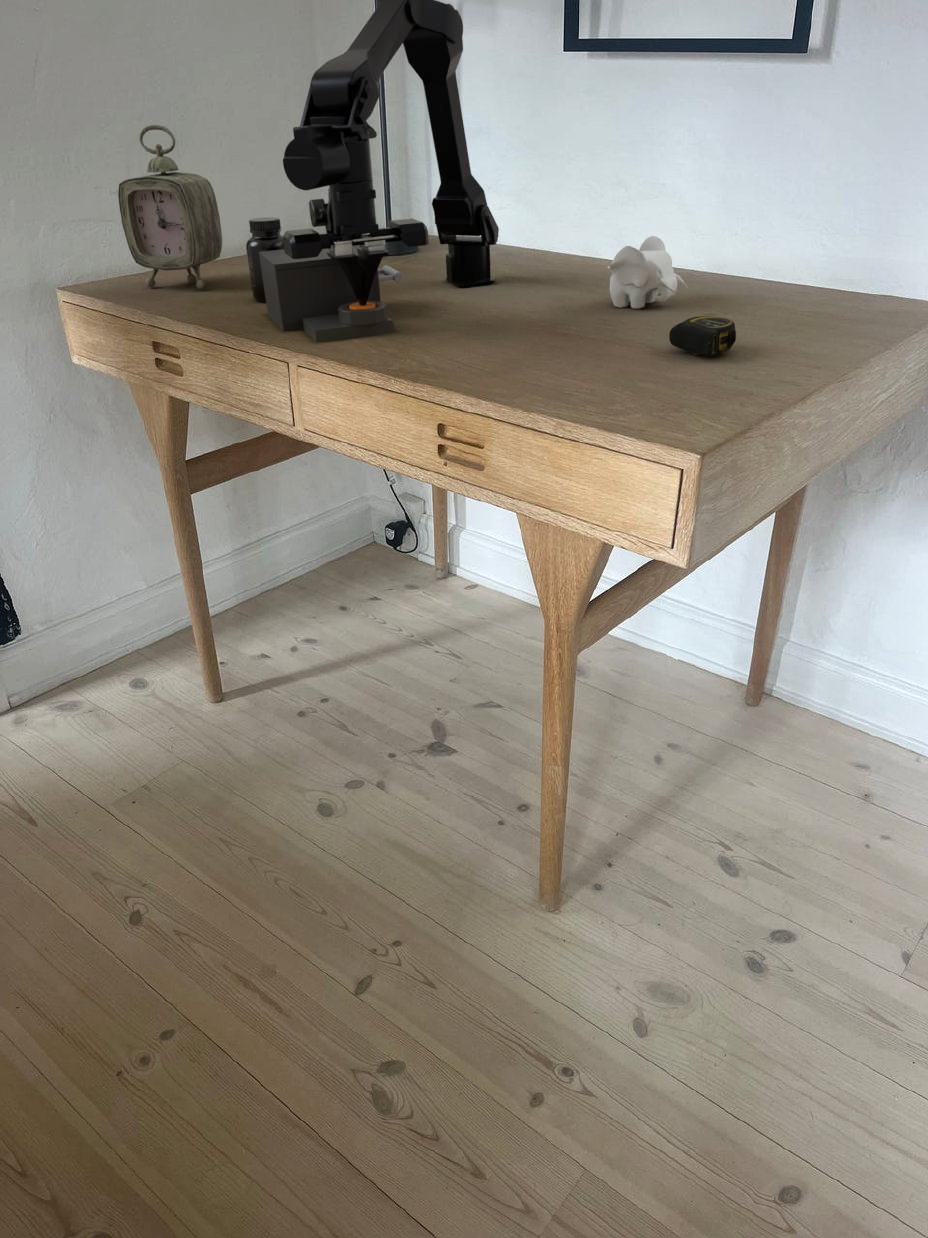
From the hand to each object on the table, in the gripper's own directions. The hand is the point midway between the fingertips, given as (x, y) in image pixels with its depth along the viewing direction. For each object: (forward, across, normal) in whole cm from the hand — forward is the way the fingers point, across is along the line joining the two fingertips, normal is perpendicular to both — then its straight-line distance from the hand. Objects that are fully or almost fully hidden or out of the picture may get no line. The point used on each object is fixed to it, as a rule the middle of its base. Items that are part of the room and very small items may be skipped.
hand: (362, 304), depth 127 cm
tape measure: (+4, -34, +32) cm, 47 cm away
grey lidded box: (+4, +4, -12) cm, 13 cm away
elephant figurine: (+4, -41, +6) cm, 42 cm away
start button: (+2, 0, 0) cm, 2 cm away
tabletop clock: (+4, +19, -48) cm, 52 cm away
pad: (+4, +2, -2) cm, 4 cm away
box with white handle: (+3, 0, -12) cm, 12 cm away
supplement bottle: (+4, +7, -29) cm, 30 cm away
